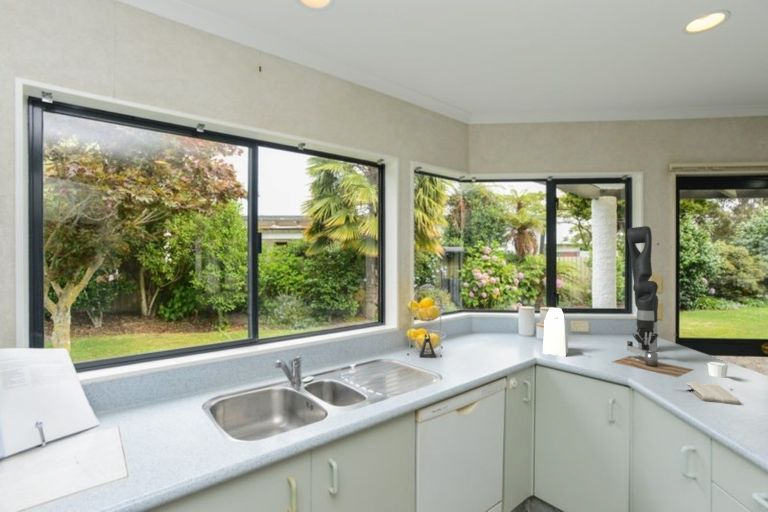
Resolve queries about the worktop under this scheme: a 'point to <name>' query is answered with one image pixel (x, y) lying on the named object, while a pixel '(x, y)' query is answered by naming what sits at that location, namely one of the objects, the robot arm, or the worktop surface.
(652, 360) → the lever
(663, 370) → the dial plate
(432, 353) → the phone stand
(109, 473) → the worktop surface
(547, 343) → the milk
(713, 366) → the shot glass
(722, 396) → the washcloth
